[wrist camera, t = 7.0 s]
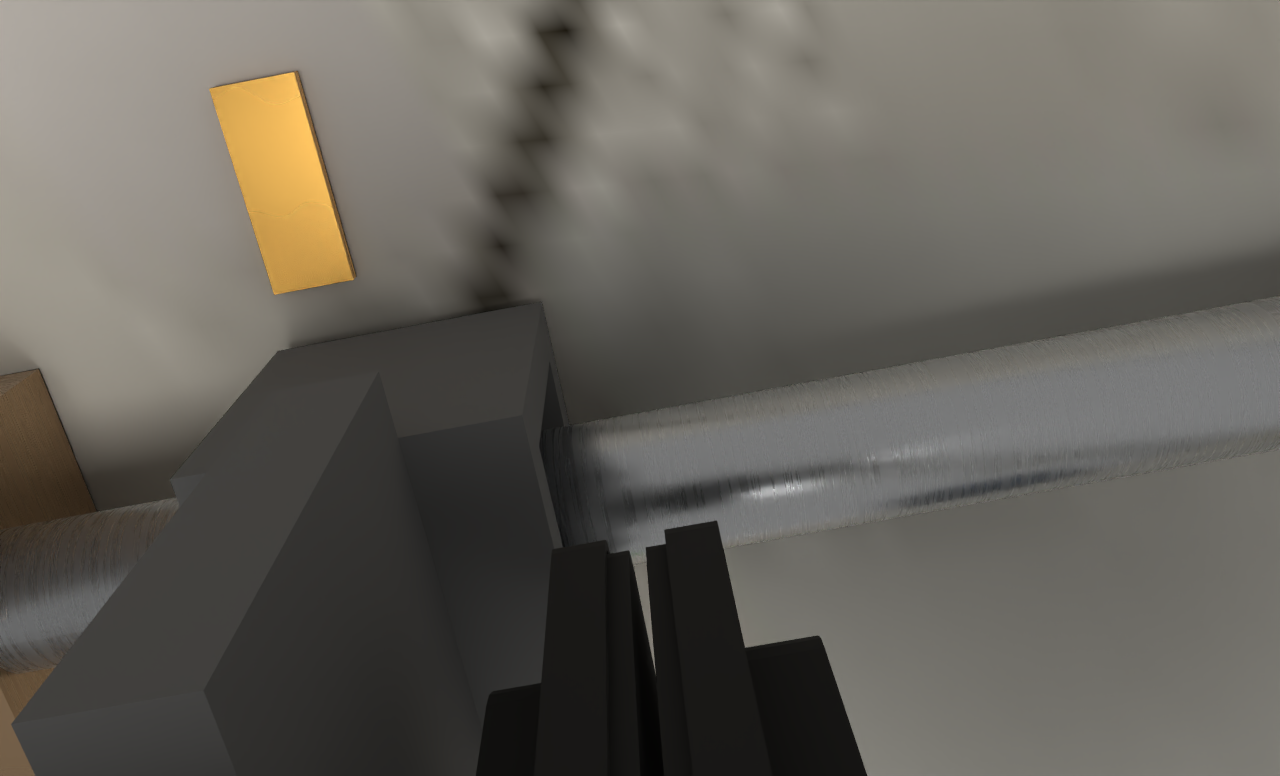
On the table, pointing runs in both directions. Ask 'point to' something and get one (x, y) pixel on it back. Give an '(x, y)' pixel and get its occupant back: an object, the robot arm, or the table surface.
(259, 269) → the table surface
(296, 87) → the rod with tan block
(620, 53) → the table surface
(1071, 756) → the table surface
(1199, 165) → the table surface
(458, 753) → the collar
